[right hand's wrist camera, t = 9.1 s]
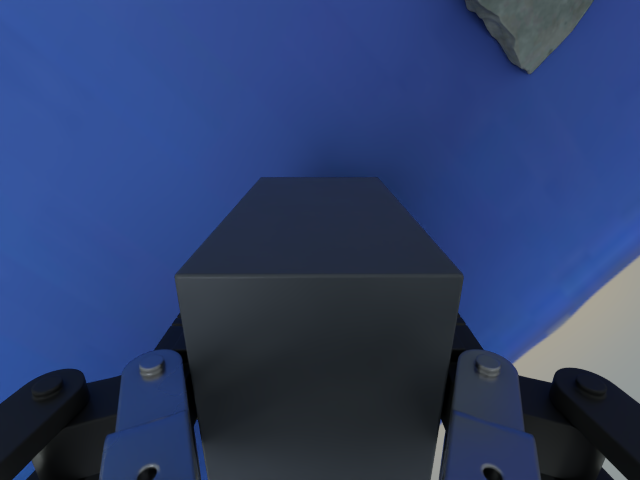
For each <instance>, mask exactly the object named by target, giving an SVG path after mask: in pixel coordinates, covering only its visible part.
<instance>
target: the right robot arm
mask: <svg viewBox="0 0 640 480" xmlns="http://www.w3.org/2000/svg"><path fill="white" fill-rule="evenodd" d="M196 420H198V416H197V410H196V404H195V398H194V392H193V386H192V380H191V374H190V367H189V361H188V355H187V349H186V343H185V337H184V331H183V325H182V319H181V313H179V315H178V318H176V319H175V321H174V322H173V323H172V326H170V328H169V329H168V331H167V332H166V334H165V335H164V336H163V338H162V339H161V341H160V342H159V344H158V345H157V347H156V348H155V349H154V351H151V352H147V353H145V354H142V355H140V356H138V357H137V358H135V359H134V360H132V361H131V362H130V363H129V364H128V365H127V366H126V367H125V368H124V370H123V372H122V375H120V376H117V377H113V378H109V379H104V380H100V381H95V382H91V383H86V380H85V377H84V374H83V373H82V372H81V371H79V370H76V369H61V370H56V371H53V372H50V373H47V374H44V375H42V376H39V377H37V378H35V379H34V380H32V381H30V382H29V383H27V384H26V385H24V386H23V387H22V388H20V389H19V390H18V391H16V392H15V393H14V394H13V395H11V396H10V397H9V398H7V399H6V400H5V401H3V402H2V403H1V404H0V480H12V479H13V478H14V477H15V476H16V475H17V474H18V473H19V472H20V471H21V470H22V469H23V468H24V467H25V466H26V465H27V464H28V463H29V462H30V461H31V460H32V463H33V465H34V468H35V471H34V472H33V473H32V474H31V475H30V476H29V477H28V478H27V479H26V480H201V475H200V467H199V460H198V452H197V445H196V437H195V432H194V424H195V422H196ZM441 420H442V423H443V425H444V428H445V430H446V431H445V437H444V445H443V452H442V459H441V467H440V474H439V480H614V479H613V478H612V477H611V476H610V475H609V474H608V473H607V472H606V471H605V470H604V469H603V468H602V465H603V462H604V460H605V457H606V458H607V459H608V460H609V461H610V462H611V463H612V464H613V465H614V466H615V467H616V468H617V469H618V470H619V471H620V472H621V473H622V474H623V475H624V476H625V477H626V478H627V479H628V480H640V404H639V403H638V402H637V401H635V400H634V399H633V398H631V397H630V396H629V395H627V394H626V393H625V392H624V391H622V390H621V389H620V388H618V387H617V386H616V385H614V384H613V383H612V382H610V381H608V380H607V379H605V378H603V377H601V376H599V375H597V374H595V373H592V372H589V371H586V370H582V369H578V368H562V369H560V370H558V371H557V372H556V373H555V375H554V378H553V381H552V383H550V382H545V381H541V380H536V379H531V378H527V377H523V376H519V375H518V372H517V370H516V368H515V367H514V366H513V365H512V364H511V363H510V362H509V361H508V360H506V359H505V358H503V357H502V356H500V355H498V354H495V353H493V352H489V351H485V350H483V348H482V347H481V345H480V344H479V342H478V341H477V340H476V338H475V337H474V335H473V334H472V332H471V331H470V329H469V328H468V326H466V323H465V322H464V321H463V319H462V318H460V315H459V313H458V315H457V321H456V327H455V333H454V339H453V345H452V351H451V358H450V364H449V370H448V376H447V382H446V388H445V394H444V400H443V407H442V413H441Z"/></svg>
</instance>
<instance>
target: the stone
mask: <svg viewBox="0 0 640 480" xmlns="http://www.w3.org/2000/svg"><path fill="white" fill-rule="evenodd" d="M593 1H594V0H465V2H466V6H467V9H468V10H469V11H472V12H475V13H476V14H477V15H478V17H479V18H481V19H482V20H483V21H484V23H485V26H486V28H487V30H488V31H489V32H490V34H491V36H492V37H494V38H495V39H497V40H498V42H499V43H500V45H501V46H502V48H503V50H504V52H505V53H506V55H507V57H508V58H509V60H510V61H511V62H512V63H513V64H515V65H517V66H518V67H520V68H521V69H523V70H526V71H527V73H528V74H531V73H532V72H533V71H534V70H535V69H536V68H537V67H538V66H539V65H540V64H541V63H542V62H543V61H544V60H545V59H546V58H547V57H548V56H549V55H550V54H551V53H552V52H553V51H554V50H555V49H556V48H557V47H558V46H559V45H560V44H561V42H562V41H563V40H564V39H565V38H566V37H567V36H568V35H569V34H570V33H571V32H572V30H573V29H574V28H575V26H576V25H577V24H578V22H579V21H580V19H581V18H582V17H583V15H584V14H585V12H586V11H587V10H588V8H589V7H590V5H591V4H592V2H593Z"/></svg>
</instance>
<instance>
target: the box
mask: <svg viewBox="0 0 640 480" xmlns="http://www.w3.org/2000/svg"><path fill="white" fill-rule="evenodd" d="M463 278H464V276H463V274H462V273H461V271H460V270H459V269H458V268H457V267H456V266H455V265H454V264H453V262H452V261H451V260H450V259H449V258H448V257H447V256H446V254H445V253H444V252H443V251H442V250H441V249H440V248H439V246H438V245H437V244H436V243H435V242H434V241H433V240H432V239H431V237H430V236H429V235H428V234H427V233H426V232H425V231H424V229H423V228H422V227H421V226H420V225H419V224H418V223H417V222H416V220H415V219H414V218H413V217H412V216H411V215H410V214H409V212H408V211H407V210H406V209H405V208H404V207H403V206H402V205H401V203H400V202H399V201H398V200H397V199H396V198H395V197H394V195H393V194H392V193H391V192H390V191H389V190H388V189H387V188H386V186H385V185H384V184H383V183H382V182H381V181H380V180H379V178H377V177H261V178H260V179H259V180H258V181H257V182H256V184H255V185H254V186H253V187H252V188H251V189H250V190H249V192H248V193H247V194H246V195H245V196H244V197H243V198H242V199H241V201H240V202H239V203H238V204H237V205H236V206H235V207H234V209H233V210H232V211H231V212H230V213H229V214H228V215H227V216H226V218H225V219H224V220H223V221H222V222H221V223H220V224H219V226H218V227H217V228H216V229H215V230H214V231H213V232H212V233H211V235H210V236H209V237H208V238H207V239H206V240H205V241H204V242H203V244H202V245H201V246H200V247H199V248H198V249H197V250H196V252H195V253H194V254H193V255H192V256H191V257H190V258H189V259H188V261H187V262H186V263H185V264H184V265H183V266H182V267H181V269H180V270H179V271H178V272H177V273H176V274H175V283H176V289H177V295H178V301H179V307H180V313H181V319H182V325H183V331H184V337H185V343H186V349H187V355H188V361H189V367H190V374H191V380H192V386H193V392H194V398H195V404H196V410H197V416H198V422H199V428H200V434H201V440H202V446H203V452H204V458H205V464H206V470H207V477H208V480H431V474H432V468H433V462H434V456H435V449H436V443H437V437H438V431H439V425H440V419H441V413H442V407H443V400H444V394H445V388H446V382H447V376H448V370H449V364H450V358H451V351H452V345H453V339H454V333H455V327H456V321H457V315H458V308H459V302H460V296H461V290H462V284H463Z"/></svg>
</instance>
